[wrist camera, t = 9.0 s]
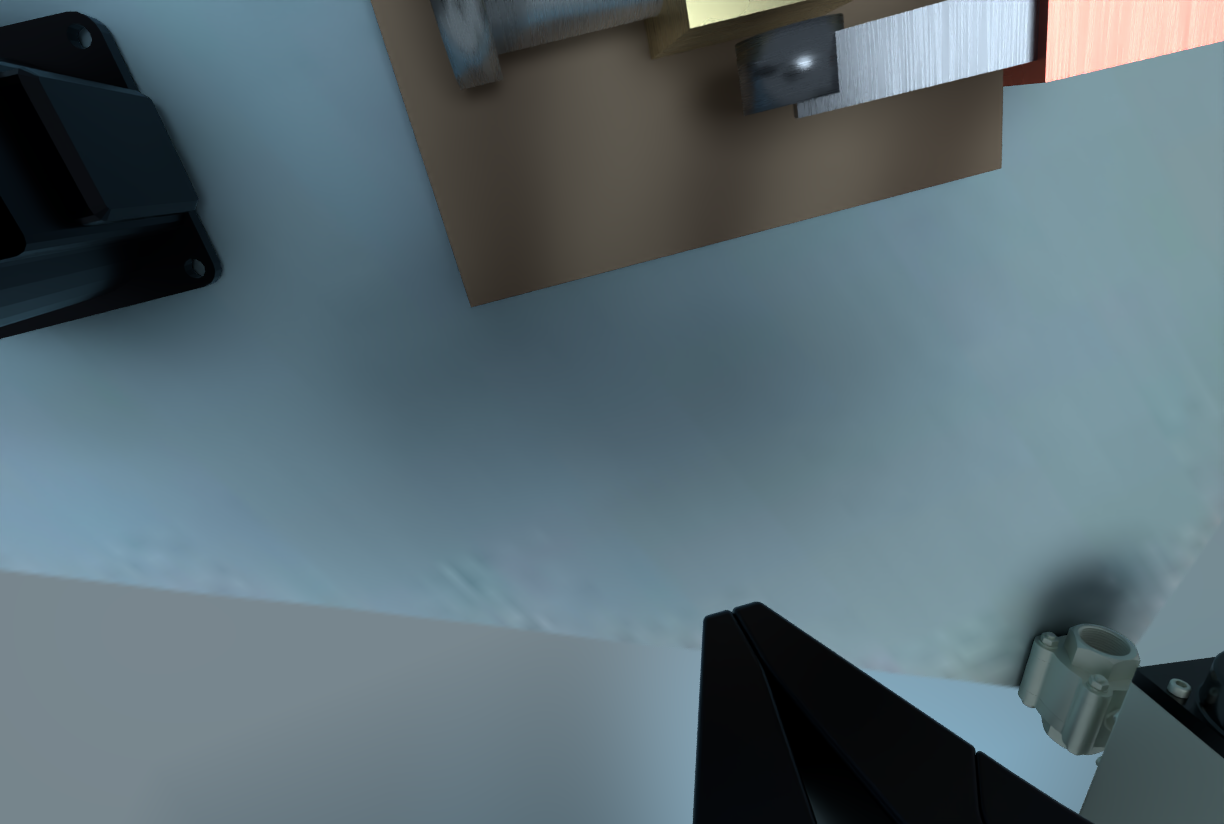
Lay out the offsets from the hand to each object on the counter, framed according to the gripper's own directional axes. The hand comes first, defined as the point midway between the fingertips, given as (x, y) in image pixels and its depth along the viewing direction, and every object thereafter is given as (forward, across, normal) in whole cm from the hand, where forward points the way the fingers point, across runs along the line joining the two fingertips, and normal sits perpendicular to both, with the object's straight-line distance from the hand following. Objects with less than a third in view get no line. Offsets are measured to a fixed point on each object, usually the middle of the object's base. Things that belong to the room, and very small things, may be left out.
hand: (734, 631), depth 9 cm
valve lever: (+8, -4, -7) cm, 11 cm away
